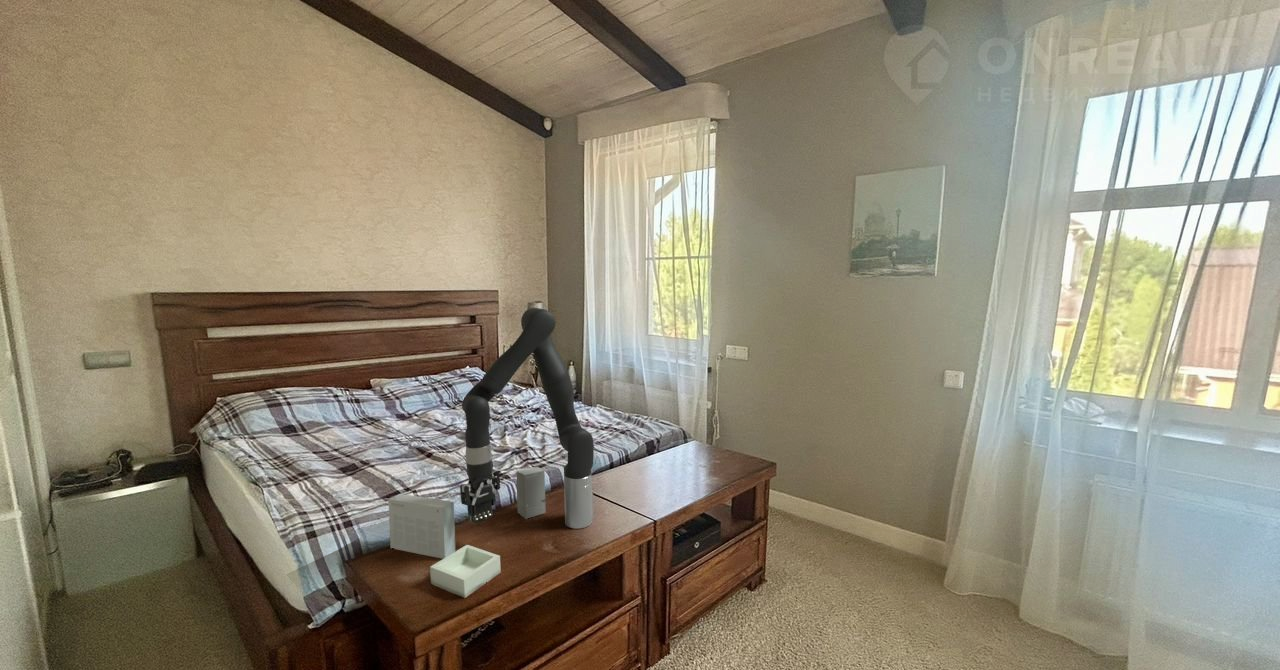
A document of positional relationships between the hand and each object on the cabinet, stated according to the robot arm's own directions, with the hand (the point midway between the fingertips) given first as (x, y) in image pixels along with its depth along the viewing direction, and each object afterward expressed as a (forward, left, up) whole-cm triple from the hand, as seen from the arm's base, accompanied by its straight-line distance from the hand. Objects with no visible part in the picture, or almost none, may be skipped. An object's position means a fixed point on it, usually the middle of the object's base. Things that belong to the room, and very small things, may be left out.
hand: (482, 510), depth 155 cm
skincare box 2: (-25, -2, -12) cm, 28 cm away
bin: (+14, +8, -12) cm, 20 cm away
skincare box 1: (+10, -16, -12) cm, 22 cm away
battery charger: (0, 0, -3) cm, 3 cm away
